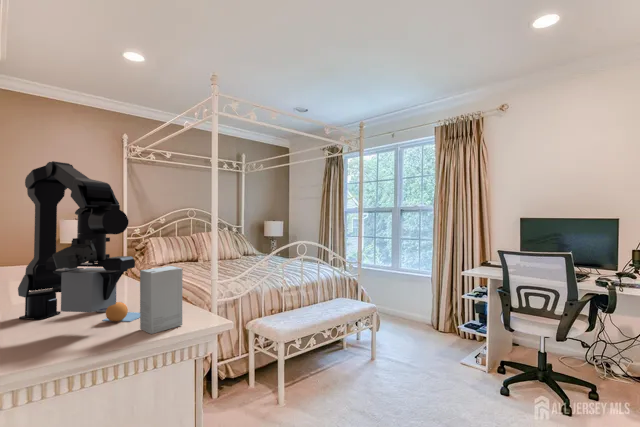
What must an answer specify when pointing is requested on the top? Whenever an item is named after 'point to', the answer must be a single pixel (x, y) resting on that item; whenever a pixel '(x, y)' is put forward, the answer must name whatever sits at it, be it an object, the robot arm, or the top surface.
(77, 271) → the gray rectangular block
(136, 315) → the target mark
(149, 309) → the tall grey upright carton
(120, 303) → the brown egg
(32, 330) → the top surface
